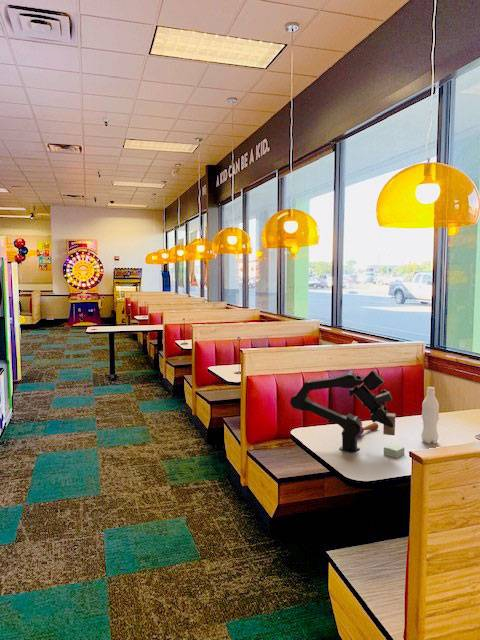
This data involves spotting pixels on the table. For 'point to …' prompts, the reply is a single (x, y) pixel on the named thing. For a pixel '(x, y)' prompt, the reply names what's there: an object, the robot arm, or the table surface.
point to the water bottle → (430, 417)
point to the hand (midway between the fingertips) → (392, 425)
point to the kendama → (368, 428)
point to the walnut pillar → (387, 429)
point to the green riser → (394, 450)
